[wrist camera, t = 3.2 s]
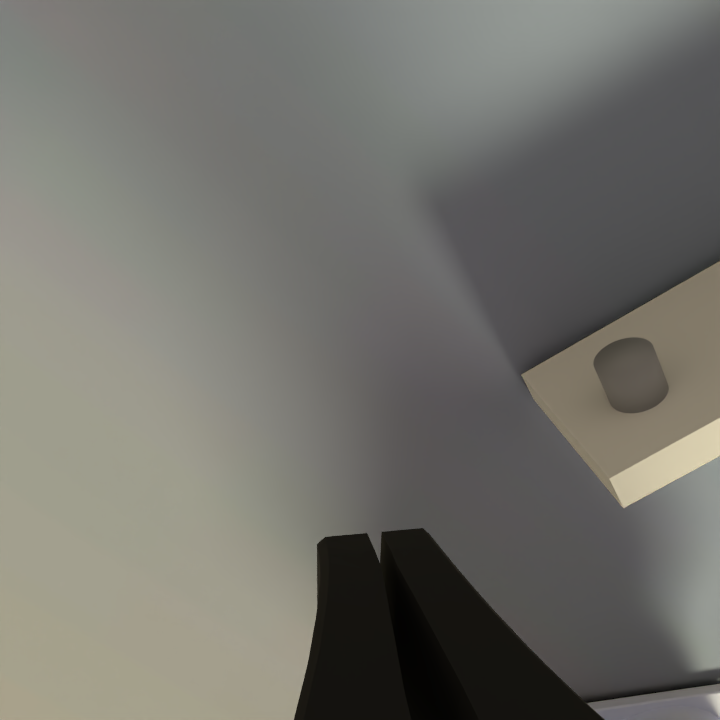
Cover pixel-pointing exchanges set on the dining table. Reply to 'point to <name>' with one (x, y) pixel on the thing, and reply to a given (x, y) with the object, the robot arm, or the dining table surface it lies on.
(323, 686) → the robot arm
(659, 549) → the dining table surface
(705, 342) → the cabinet door
